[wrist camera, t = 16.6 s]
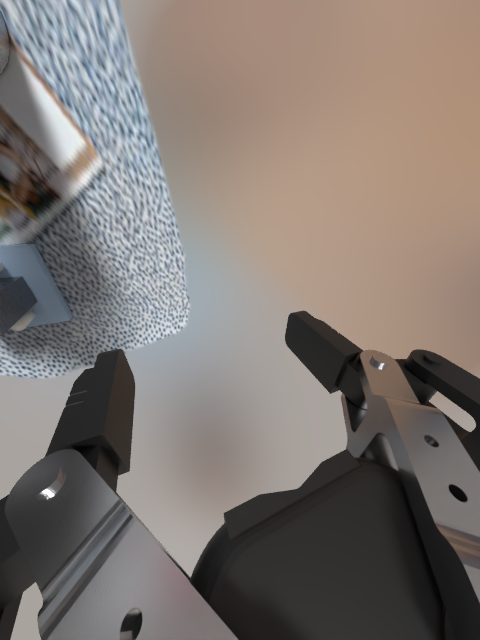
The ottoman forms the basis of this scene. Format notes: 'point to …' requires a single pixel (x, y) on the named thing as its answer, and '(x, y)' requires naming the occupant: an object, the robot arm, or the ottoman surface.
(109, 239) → the ottoman surface
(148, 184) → the ottoman surface
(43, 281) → the pin cradle
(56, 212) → the ottoman surface
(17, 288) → the plate
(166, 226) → the ottoman surface
